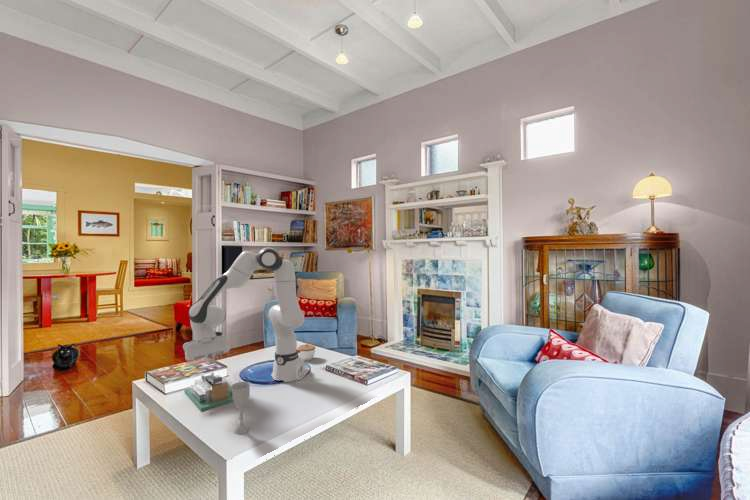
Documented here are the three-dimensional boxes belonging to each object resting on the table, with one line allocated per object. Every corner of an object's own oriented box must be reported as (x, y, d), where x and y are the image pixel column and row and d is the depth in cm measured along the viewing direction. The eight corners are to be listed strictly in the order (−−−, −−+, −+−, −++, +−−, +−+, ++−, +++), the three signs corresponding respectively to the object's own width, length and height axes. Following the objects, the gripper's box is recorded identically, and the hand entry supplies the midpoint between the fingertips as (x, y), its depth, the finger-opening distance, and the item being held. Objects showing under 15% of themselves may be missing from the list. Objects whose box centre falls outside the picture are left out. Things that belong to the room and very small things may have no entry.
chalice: (234, 437, 133) (234, 390, 133) (229, 430, 139) (228, 384, 138) (254, 430, 138) (253, 385, 137) (247, 423, 143) (247, 380, 143)
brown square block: (210, 401, 161) (210, 385, 161) (226, 396, 166) (226, 381, 165) (212, 402, 159) (211, 386, 159) (228, 398, 164) (227, 382, 164)
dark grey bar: (202, 379, 174) (202, 375, 174) (211, 377, 176) (211, 373, 176) (213, 383, 162) (213, 379, 162) (222, 381, 165) (222, 377, 165)
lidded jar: (310, 355, 229) (309, 340, 229) (318, 359, 221) (318, 344, 220) (294, 358, 222) (294, 343, 222) (303, 363, 214) (303, 347, 213)
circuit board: (184, 392, 173) (184, 389, 173) (222, 382, 185) (222, 380, 185) (200, 411, 154) (200, 408, 154) (241, 398, 166) (241, 396, 166)
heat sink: (190, 392, 170) (189, 377, 170) (223, 383, 181) (222, 369, 180) (200, 403, 158) (200, 387, 158) (234, 393, 169) (234, 378, 169)
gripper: (183, 339, 168) (189, 365, 161) (226, 331, 181) (234, 355, 175) (180, 346, 171) (186, 372, 164) (223, 338, 185) (231, 361, 178)
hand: (211, 363), depth 169 cm, fingers closed
